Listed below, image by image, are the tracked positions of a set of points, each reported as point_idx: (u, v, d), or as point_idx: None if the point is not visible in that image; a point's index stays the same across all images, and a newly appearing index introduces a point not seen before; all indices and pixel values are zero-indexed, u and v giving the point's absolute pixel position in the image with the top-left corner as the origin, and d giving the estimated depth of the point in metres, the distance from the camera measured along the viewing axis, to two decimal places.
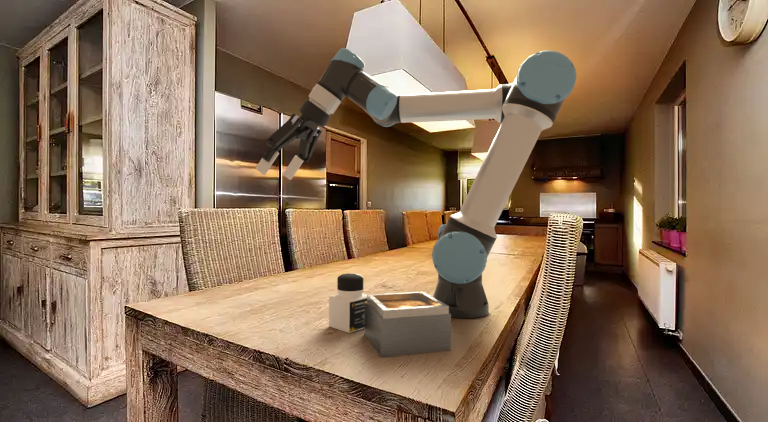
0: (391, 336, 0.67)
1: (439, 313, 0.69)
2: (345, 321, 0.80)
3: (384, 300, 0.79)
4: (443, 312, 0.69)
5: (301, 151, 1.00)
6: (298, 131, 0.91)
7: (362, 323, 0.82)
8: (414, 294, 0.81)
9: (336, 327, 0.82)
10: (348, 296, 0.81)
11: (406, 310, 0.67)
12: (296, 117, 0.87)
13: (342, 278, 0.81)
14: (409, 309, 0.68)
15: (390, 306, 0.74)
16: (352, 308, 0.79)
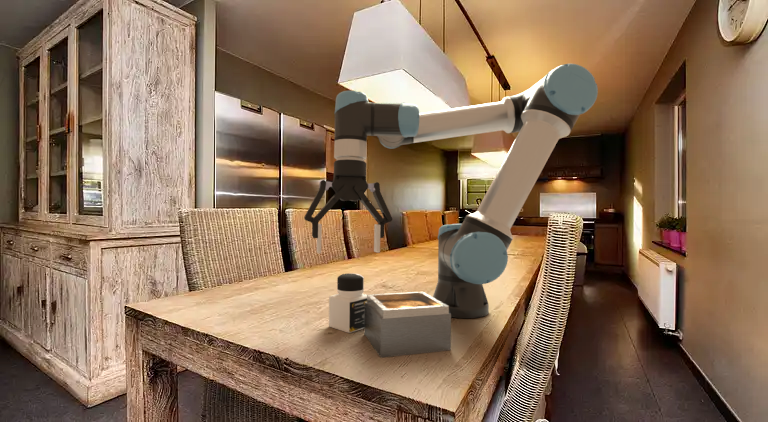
0: (391, 336, 0.67)
1: (439, 313, 0.69)
2: (345, 321, 0.80)
3: (384, 300, 0.79)
4: (443, 312, 0.69)
5: (373, 216, 0.86)
6: None
7: (362, 323, 0.82)
8: (414, 294, 0.81)
9: (336, 327, 0.82)
10: (348, 296, 0.81)
11: (406, 310, 0.67)
12: (320, 181, 0.82)
13: (342, 278, 0.81)
14: (409, 309, 0.68)
15: (390, 306, 0.74)
16: (352, 308, 0.79)
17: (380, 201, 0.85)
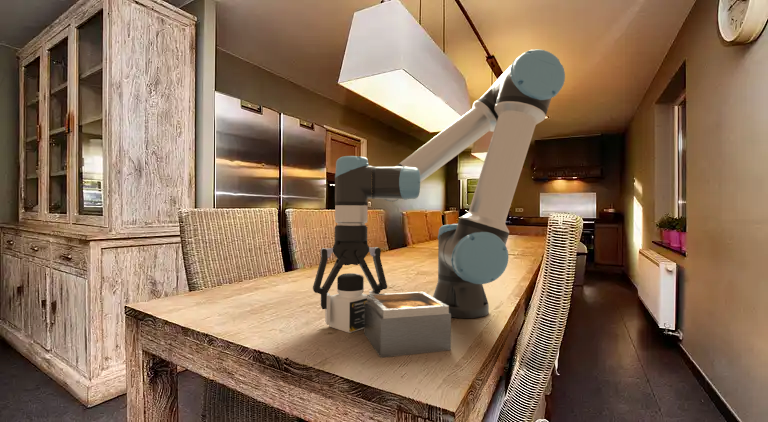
0: (391, 336, 0.67)
1: (439, 313, 0.69)
2: (345, 321, 0.80)
3: (384, 300, 0.79)
4: (443, 312, 0.69)
5: (369, 282, 0.85)
6: None
7: (362, 323, 0.82)
8: (414, 294, 0.81)
9: (336, 327, 0.82)
10: (348, 296, 0.81)
11: (406, 310, 0.67)
12: (321, 250, 0.82)
13: (342, 278, 0.81)
14: (409, 309, 0.68)
15: (390, 306, 0.74)
16: (352, 307, 0.79)
17: (378, 267, 0.84)
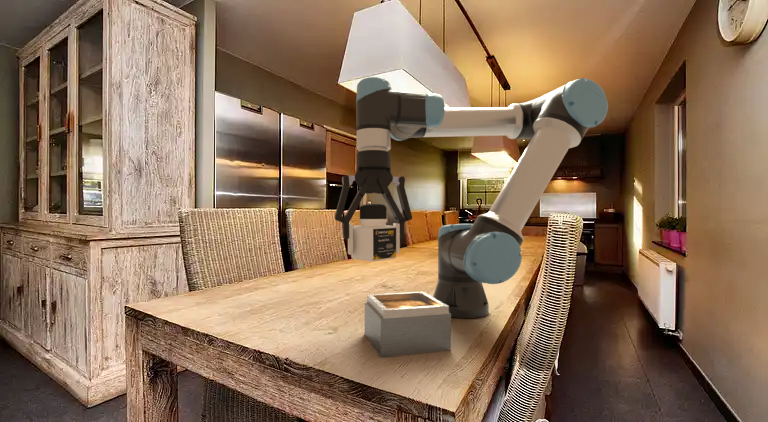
0: (391, 336, 0.67)
1: (439, 313, 0.69)
2: (369, 250, 0.76)
3: (384, 300, 0.79)
4: (443, 312, 0.69)
5: (393, 213, 0.81)
6: None
7: (386, 253, 0.78)
8: (414, 294, 0.81)
9: (359, 257, 0.78)
10: (371, 224, 0.77)
11: (406, 310, 0.67)
12: (342, 177, 0.78)
13: (364, 206, 0.78)
14: (409, 309, 0.68)
15: (390, 306, 0.74)
16: (375, 235, 0.75)
17: (402, 197, 0.80)
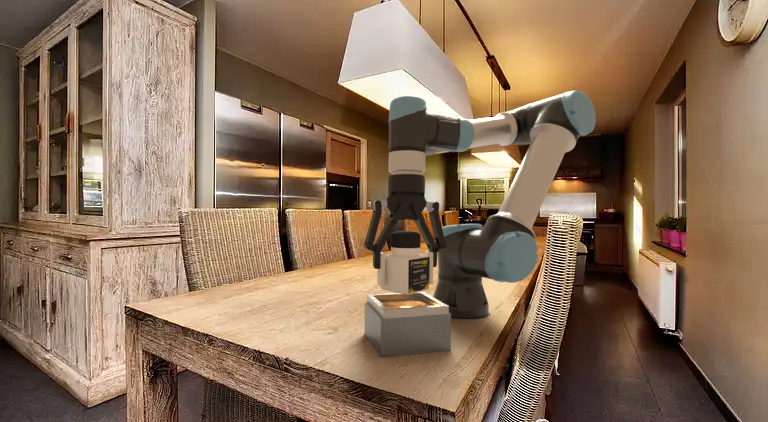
0: (391, 336, 0.67)
1: (439, 313, 0.69)
2: (403, 282, 0.70)
3: (384, 300, 0.79)
4: (443, 312, 0.69)
5: (426, 240, 0.76)
6: None
7: (420, 285, 0.72)
8: (414, 294, 0.81)
9: (391, 289, 0.72)
10: (405, 254, 0.72)
11: (406, 310, 0.67)
12: (374, 202, 0.72)
13: (398, 234, 0.72)
14: (409, 309, 0.68)
15: (390, 306, 0.74)
16: (410, 266, 0.70)
17: (436, 223, 0.75)
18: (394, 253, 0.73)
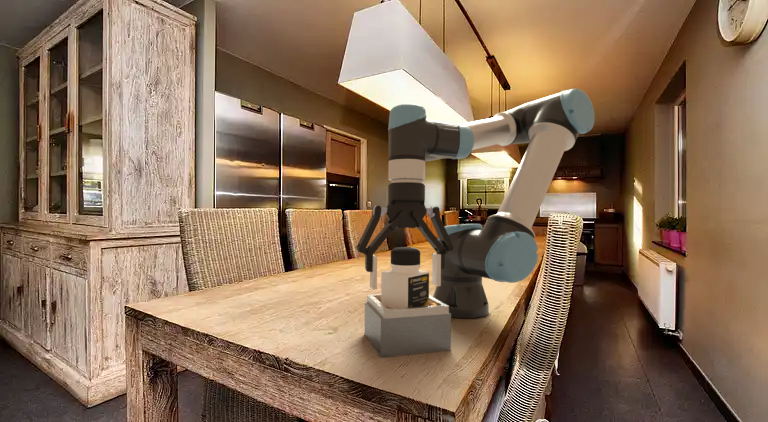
0: (391, 336, 0.67)
1: (439, 313, 0.69)
2: (403, 299, 0.70)
3: None
4: (443, 312, 0.69)
5: (432, 244, 0.76)
6: None
7: (420, 302, 0.72)
8: None
9: (391, 306, 0.72)
10: (404, 271, 0.72)
11: (406, 310, 0.67)
12: (374, 207, 0.72)
13: (397, 251, 0.72)
14: (409, 309, 0.68)
15: None
16: (410, 284, 0.70)
17: (440, 228, 0.75)
18: (394, 270, 0.73)
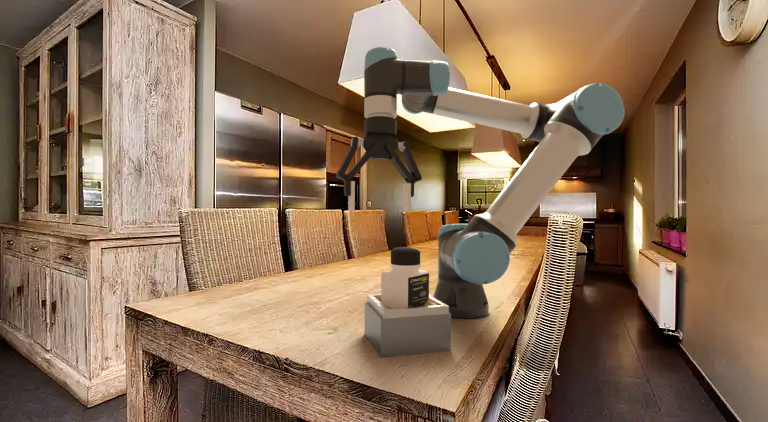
0: (391, 336, 0.67)
1: (439, 313, 0.69)
2: (403, 299, 0.70)
3: None
4: (443, 312, 0.69)
5: (403, 175, 0.86)
6: None
7: (420, 302, 0.72)
8: None
9: (391, 306, 0.72)
10: (404, 271, 0.72)
11: (406, 310, 0.67)
12: (352, 138, 0.81)
13: (397, 251, 0.72)
14: (409, 309, 0.68)
15: None
16: (410, 284, 0.70)
17: (410, 160, 0.85)
18: (394, 270, 0.73)
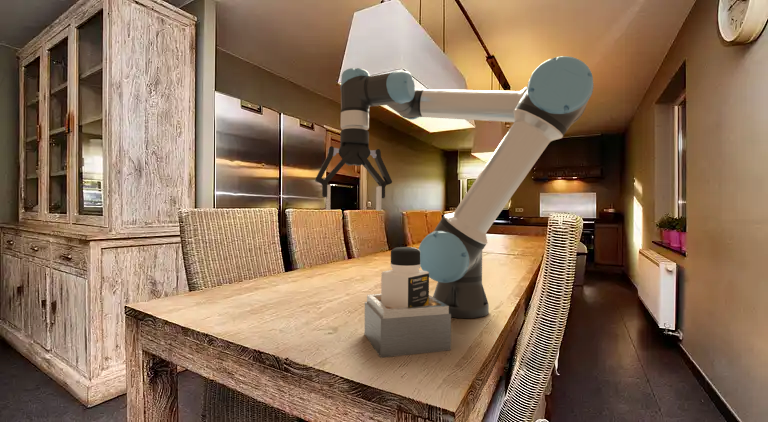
0: (391, 336, 0.67)
1: (439, 313, 0.69)
2: (403, 299, 0.70)
3: None
4: (443, 312, 0.69)
5: (375, 179, 0.98)
6: None
7: (420, 302, 0.72)
8: None
9: (391, 306, 0.72)
10: (404, 271, 0.72)
11: (406, 310, 0.67)
12: None
13: (397, 251, 0.72)
14: (409, 309, 0.68)
15: None
16: (410, 284, 0.70)
17: (381, 165, 0.97)
18: (394, 270, 0.73)
